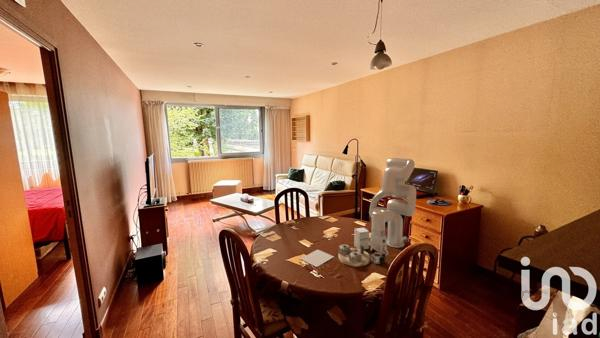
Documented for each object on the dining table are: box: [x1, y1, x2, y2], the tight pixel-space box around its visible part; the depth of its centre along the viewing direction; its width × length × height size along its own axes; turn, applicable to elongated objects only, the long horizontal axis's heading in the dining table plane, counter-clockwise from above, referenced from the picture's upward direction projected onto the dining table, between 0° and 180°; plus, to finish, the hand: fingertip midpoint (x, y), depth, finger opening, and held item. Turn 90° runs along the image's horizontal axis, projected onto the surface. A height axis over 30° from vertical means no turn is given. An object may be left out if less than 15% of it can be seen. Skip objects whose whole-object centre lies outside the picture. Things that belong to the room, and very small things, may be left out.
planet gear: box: [370, 251, 382, 265], centre depth 143 cm, size 7×7×4 cm
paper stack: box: [299, 249, 335, 268], centre depth 142 cm, size 23×25×1 cm
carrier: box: [338, 244, 371, 268], centre depth 147 cm, size 19×19×7 cm
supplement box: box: [353, 227, 370, 250], centre depth 161 cm, size 7×7×13 cm
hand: (377, 259), depth 143 cm, fingers closed on planet gear, 7 cm apart
